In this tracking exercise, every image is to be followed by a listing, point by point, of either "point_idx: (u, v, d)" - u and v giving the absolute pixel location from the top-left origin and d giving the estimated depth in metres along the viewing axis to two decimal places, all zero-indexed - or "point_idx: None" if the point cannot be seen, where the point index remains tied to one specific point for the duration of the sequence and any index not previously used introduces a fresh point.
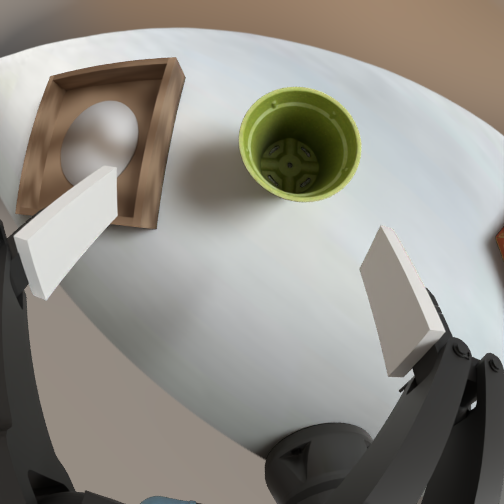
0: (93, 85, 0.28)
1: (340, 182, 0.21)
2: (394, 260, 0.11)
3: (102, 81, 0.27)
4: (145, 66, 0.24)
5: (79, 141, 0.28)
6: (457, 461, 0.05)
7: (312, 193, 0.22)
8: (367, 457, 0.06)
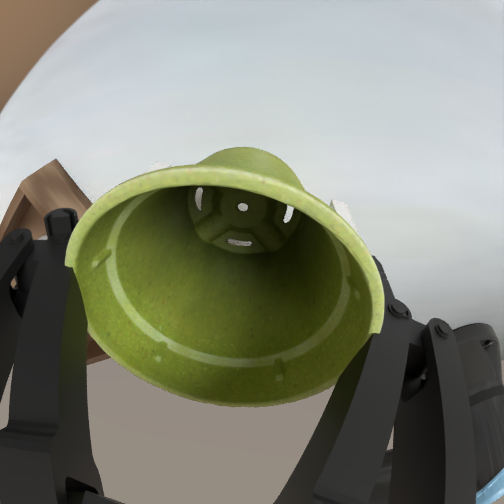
0: None
1: (356, 341, 0.08)
2: None
3: None
4: (17, 209, 0.17)
5: None
6: (418, 439, 0.06)
7: (313, 341, 0.10)
8: (317, 434, 0.06)
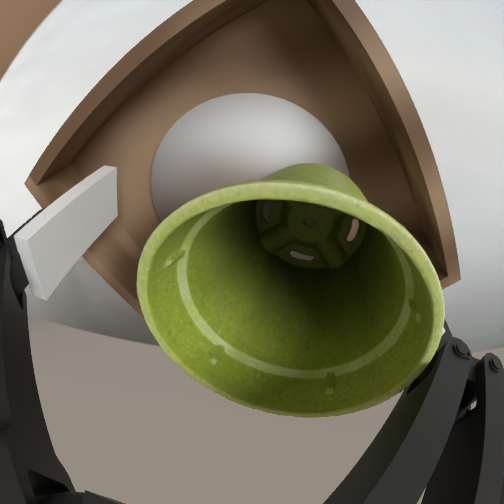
0: (116, 112, 0.13)
1: (411, 361, 0.08)
2: None
3: (132, 91, 0.12)
4: None
5: None
6: (457, 461, 0.05)
7: (367, 358, 0.10)
8: (367, 457, 0.06)
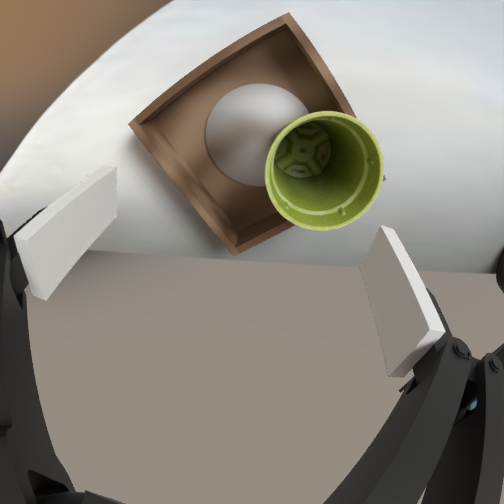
0: (187, 90, 0.25)
1: (375, 181, 0.21)
2: (394, 260, 0.11)
3: (200, 79, 0.24)
4: (259, 37, 0.19)
5: (236, 147, 0.28)
6: (457, 461, 0.05)
7: (355, 194, 0.23)
8: (367, 457, 0.06)
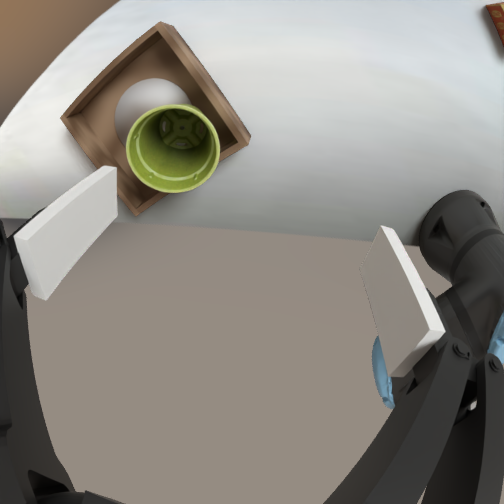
0: (102, 89, 0.29)
1: (215, 152, 0.27)
2: (394, 260, 0.11)
3: (108, 80, 0.28)
4: (141, 44, 0.24)
5: None
6: (457, 461, 0.05)
7: (206, 163, 0.29)
8: (367, 457, 0.06)
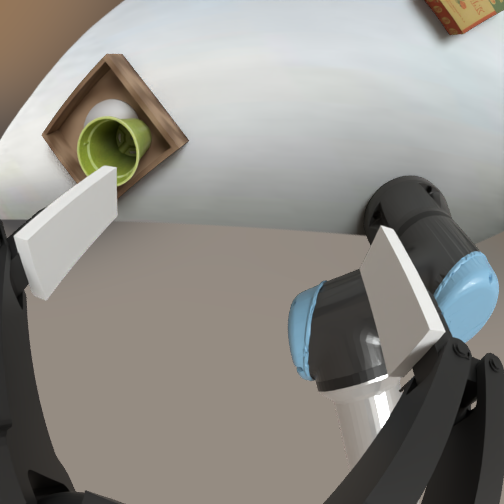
0: (73, 110, 0.35)
1: None
2: (394, 260, 0.11)
3: (76, 103, 0.34)
4: (95, 73, 0.30)
5: None
6: (457, 461, 0.05)
7: None
8: (367, 457, 0.06)
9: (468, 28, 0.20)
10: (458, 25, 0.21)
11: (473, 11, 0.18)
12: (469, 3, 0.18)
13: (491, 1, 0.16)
